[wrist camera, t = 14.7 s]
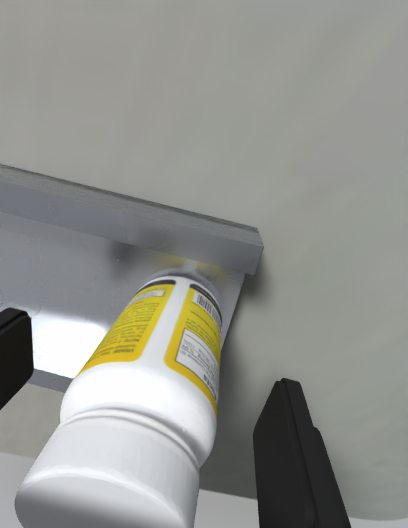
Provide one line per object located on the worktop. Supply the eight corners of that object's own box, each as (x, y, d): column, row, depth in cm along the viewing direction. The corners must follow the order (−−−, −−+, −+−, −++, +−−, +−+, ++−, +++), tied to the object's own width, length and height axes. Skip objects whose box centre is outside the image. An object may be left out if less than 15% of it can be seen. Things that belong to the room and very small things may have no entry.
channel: (256, 227, 12) (263, 246, 9) (207, 383, 16) (202, 429, 13) (-61, 148, 12) (-146, 144, 10) (-32, 320, 16) (-86, 353, 14)
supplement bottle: (127, 336, 14) (-3, 549, 6) (141, 261, 12) (-18, 430, 4) (209, 360, 14) (180, 603, 6) (235, 289, 12) (239, 505, 4)
